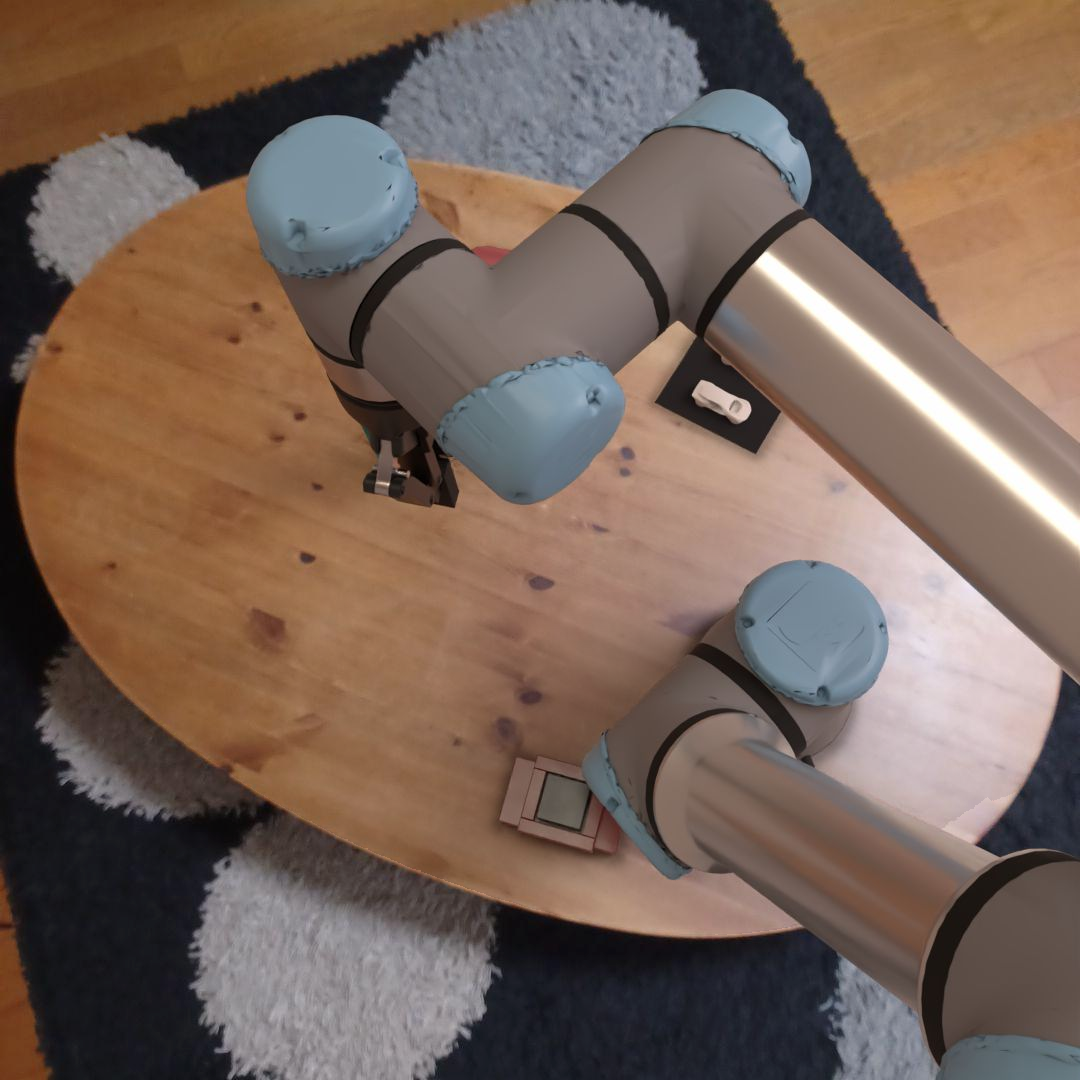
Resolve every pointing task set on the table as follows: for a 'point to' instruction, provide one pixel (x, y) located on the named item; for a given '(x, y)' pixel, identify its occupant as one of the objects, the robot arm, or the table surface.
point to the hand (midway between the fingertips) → (440, 496)
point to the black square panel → (563, 802)
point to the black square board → (718, 398)
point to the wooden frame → (522, 813)
